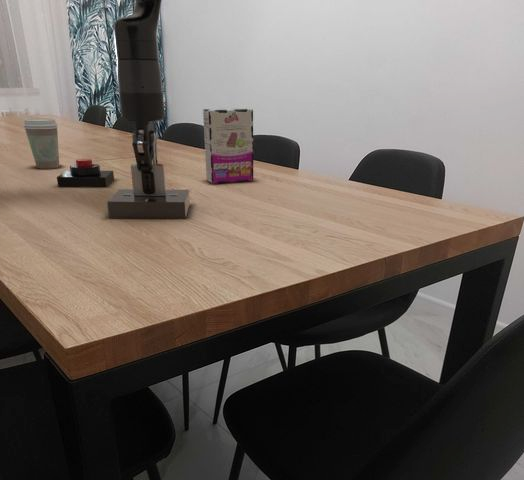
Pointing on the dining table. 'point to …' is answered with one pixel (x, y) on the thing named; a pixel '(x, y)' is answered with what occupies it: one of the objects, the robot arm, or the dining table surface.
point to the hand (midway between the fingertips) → (150, 191)
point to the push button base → (85, 177)
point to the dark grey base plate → (149, 205)
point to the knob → (158, 179)
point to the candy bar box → (228, 144)
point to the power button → (84, 162)
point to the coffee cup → (43, 142)
